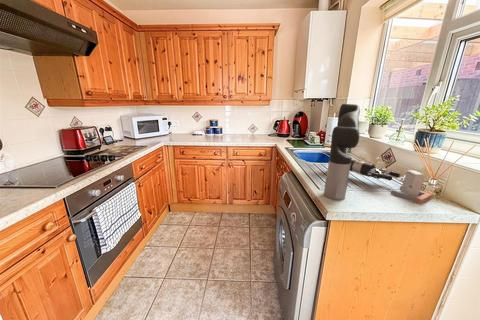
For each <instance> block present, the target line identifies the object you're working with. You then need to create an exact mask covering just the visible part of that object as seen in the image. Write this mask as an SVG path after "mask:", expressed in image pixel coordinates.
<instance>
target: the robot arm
mask: <svg viewBox="0 0 480 320" xmlns="http://www.w3.org/2000/svg"><path fill="white" fill-rule="evenodd" d="M338 111H339V112H338V116H337V117H338V118H337V124H336V125H337V126H334V127H333V130H332V132H331V140H330V141H331V142H330V152H329V159H328V163H327V164H328V166H327V171H326V177H325V182H324V183H325V184H324V190H323V196H325V197H326V198H329V199H332V200H334V201H337V200H339V201H340V200H345V199H346V195H347V189H348V182H349V176H350V172H351V173H352V172H353V173H356V174H357V175H362V176H365V177H369V178H370V177H371V178H374V179H377V180H382V179H383V180H387V181H392V180H393V177H395V178H400V177H401V173H399V172H395V171H393V170H392V169H389V168H385V167H377V168H376V165H375V164H374V163H370V162H367V161H366V162H365V161H361V160H356V159H353V158H352V157H351V155H349V154H347V149H354V148H356V147H357V146H358V144H359V143H360V129H359V126H360V114H361V108H360V105H359V104H350V103H341V105H340V107H339V110H338Z"/></svg>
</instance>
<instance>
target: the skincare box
mask: <svg viewBox="0 0 480 320" xmlns="http://www.w3.org/2000/svg"><path fill="white" fill-rule="evenodd" d="M424 179H425V174H424V173H421V172H419V171H417V170H406V172H405V176H404V179H403V182H402V185H401V186H402V189H401V190H400V191H401V192H404V193H407V194H410V195H413V196H416V197H419V192H420V191H421V189H422V185H423V182H424Z"/></svg>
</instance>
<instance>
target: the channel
mask: <svg viewBox="0 0 480 320" xmlns="http://www.w3.org/2000/svg"><path fill="white" fill-rule="evenodd" d="M401 189H402V185H400V187H399V190H397V189H391V191H390V195H393V196H397V197H400V198H403V199H405V200H408V201H411V202H414V203H417V204H420V205H422V204H423V203H425V202H427V201H428V200H430V199H431V198H432V196H433V193H430V192H427V191H423V190H420V192H419V195H418V197H416V196H413V195H410V194H407V193H404V192H401Z"/></svg>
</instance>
